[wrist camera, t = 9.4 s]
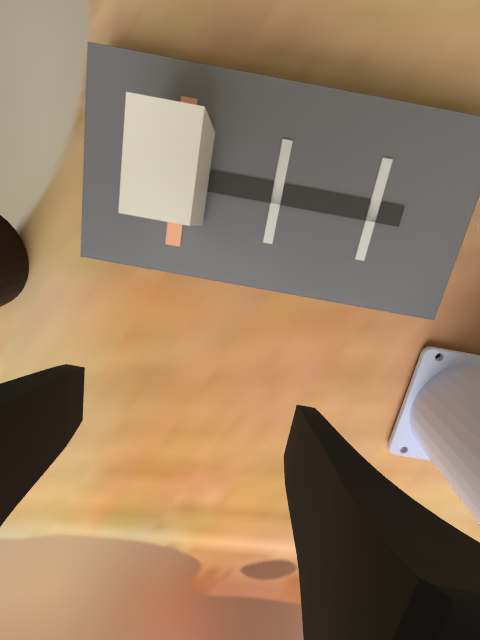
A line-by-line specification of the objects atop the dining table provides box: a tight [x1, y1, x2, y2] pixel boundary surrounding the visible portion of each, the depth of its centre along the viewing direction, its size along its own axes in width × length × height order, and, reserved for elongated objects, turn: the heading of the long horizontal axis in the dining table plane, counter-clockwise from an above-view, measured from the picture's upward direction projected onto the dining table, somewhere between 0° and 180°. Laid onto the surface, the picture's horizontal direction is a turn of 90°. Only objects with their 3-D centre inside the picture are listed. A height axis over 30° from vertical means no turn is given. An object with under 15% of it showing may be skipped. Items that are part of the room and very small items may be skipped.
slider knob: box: [118, 92, 215, 226], centre depth 15 cm, size 3×4×4 cm
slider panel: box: [81, 42, 480, 320], centre depth 18 cm, size 20×10×2 cm, turn 80°
